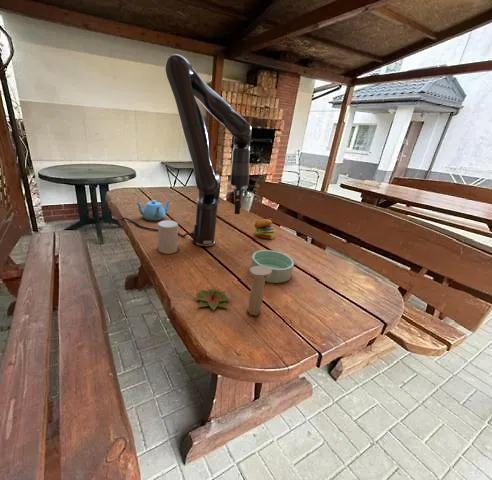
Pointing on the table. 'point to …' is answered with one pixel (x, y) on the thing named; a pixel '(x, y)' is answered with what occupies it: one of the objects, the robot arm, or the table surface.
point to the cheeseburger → (264, 229)
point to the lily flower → (212, 298)
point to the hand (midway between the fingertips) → (237, 211)
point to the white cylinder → (167, 236)
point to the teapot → (153, 210)
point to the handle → (257, 287)
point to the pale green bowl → (274, 264)
